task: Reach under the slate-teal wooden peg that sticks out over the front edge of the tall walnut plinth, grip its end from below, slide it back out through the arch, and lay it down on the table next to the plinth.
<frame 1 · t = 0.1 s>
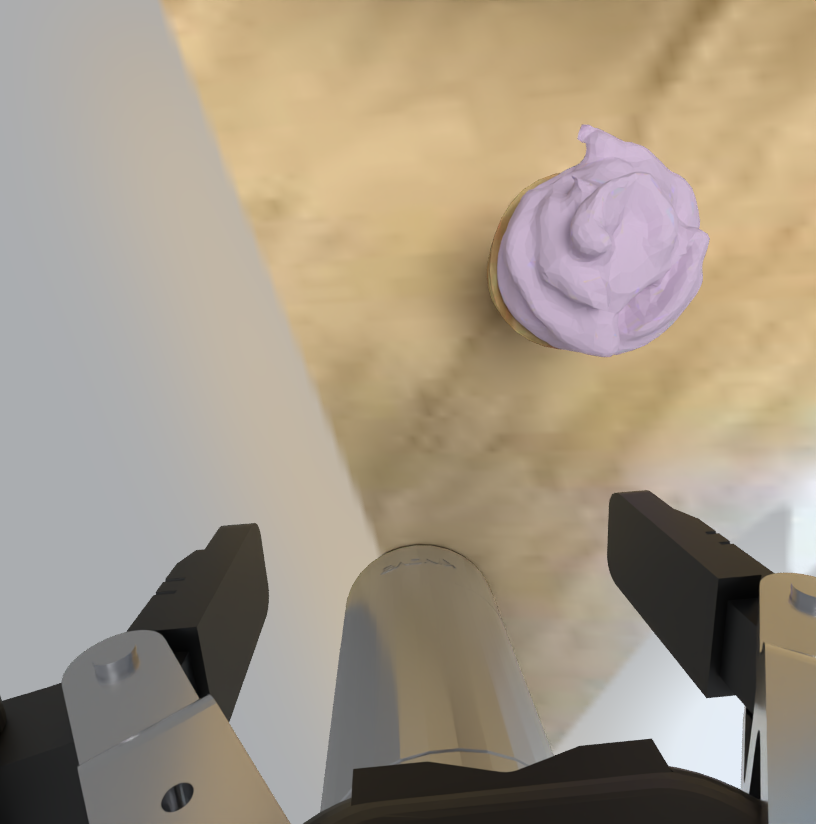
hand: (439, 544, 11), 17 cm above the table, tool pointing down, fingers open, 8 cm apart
ice cream cone: (507, 273, 27), on the table
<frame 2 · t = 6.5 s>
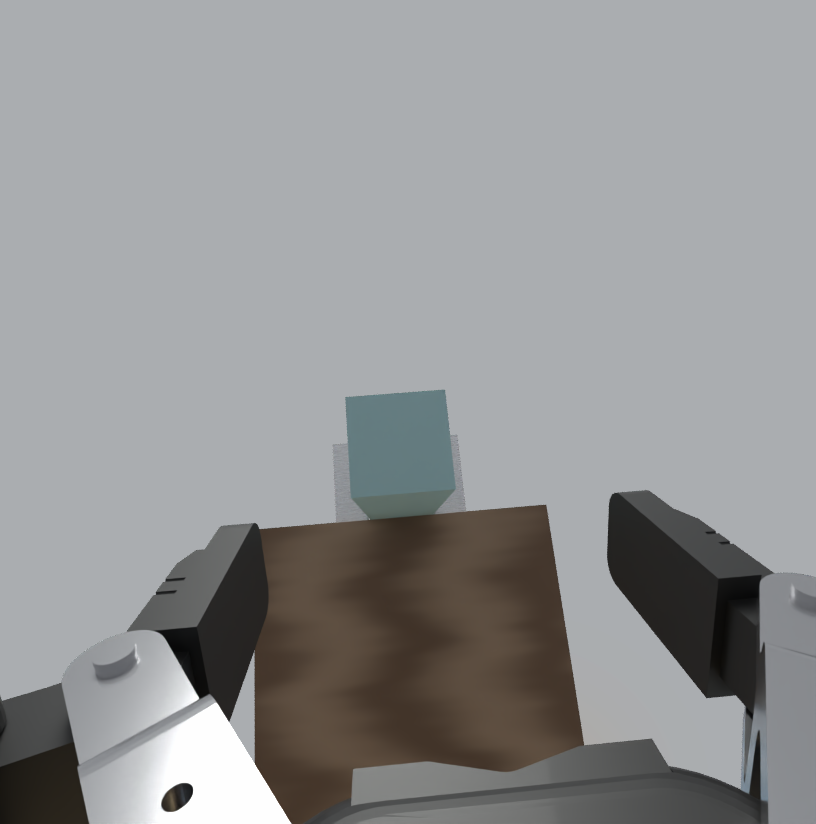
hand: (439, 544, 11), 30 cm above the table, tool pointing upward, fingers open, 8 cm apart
arch: (398, 480, 27), on the plinth, point 34 cm above the table
peg: (401, 519, 26), point 32 cm above the table, touching plinth
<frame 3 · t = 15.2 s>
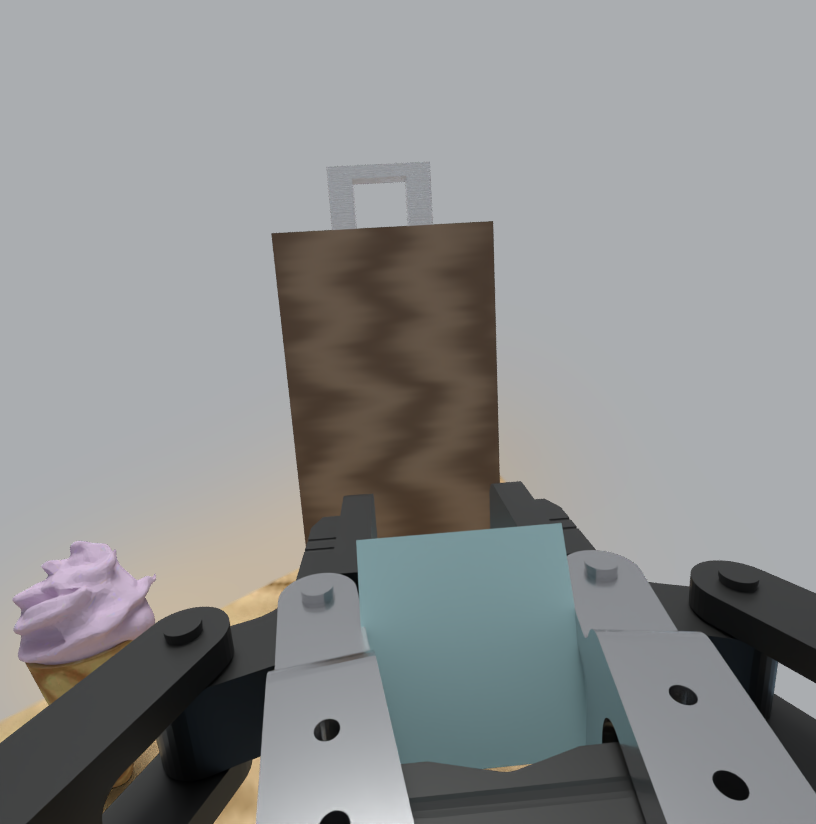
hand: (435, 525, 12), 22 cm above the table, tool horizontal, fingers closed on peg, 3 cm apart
plinth: (408, 622, 44), on the table
arch: (380, 201, 34), on the plinth, point 34 cm above the table
ice cream cone: (126, 779, 30), on the table
peg: (429, 623, 18), point 16 cm above the table, tilted 26°, touching gripper
when the fingers open (14 cm above the table, at t = 16.9 s): peg drops 9 cm, on the table.
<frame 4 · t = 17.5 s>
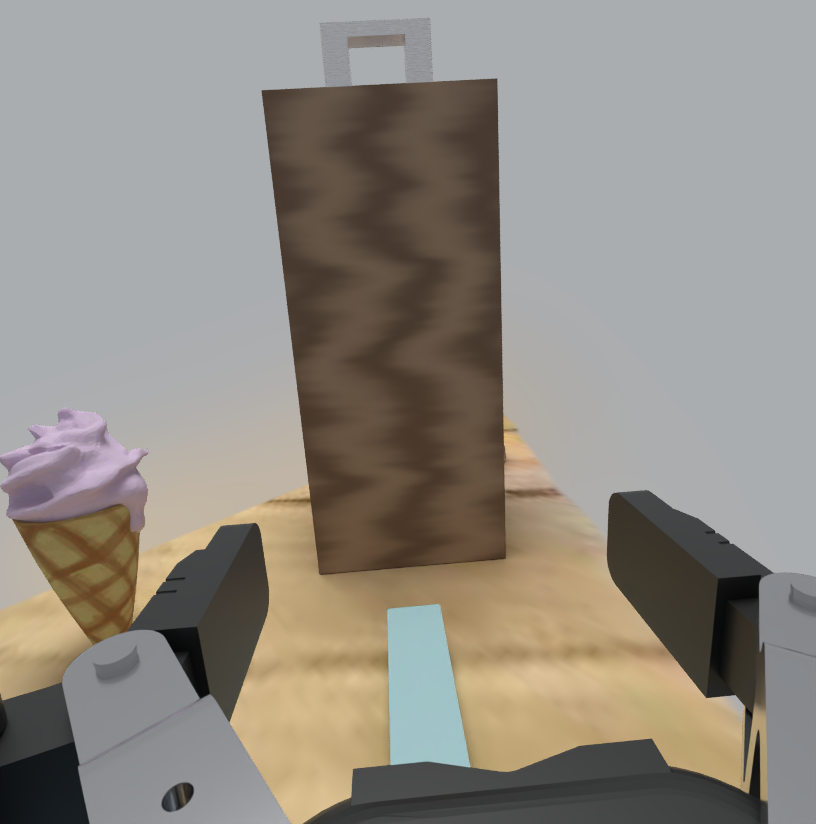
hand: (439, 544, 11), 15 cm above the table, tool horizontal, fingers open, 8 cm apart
plinth: (408, 528, 43), on the table
arch: (377, 65, 32), on the plinth, point 34 cm above the table
ice cream cone: (123, 654, 30), on the table
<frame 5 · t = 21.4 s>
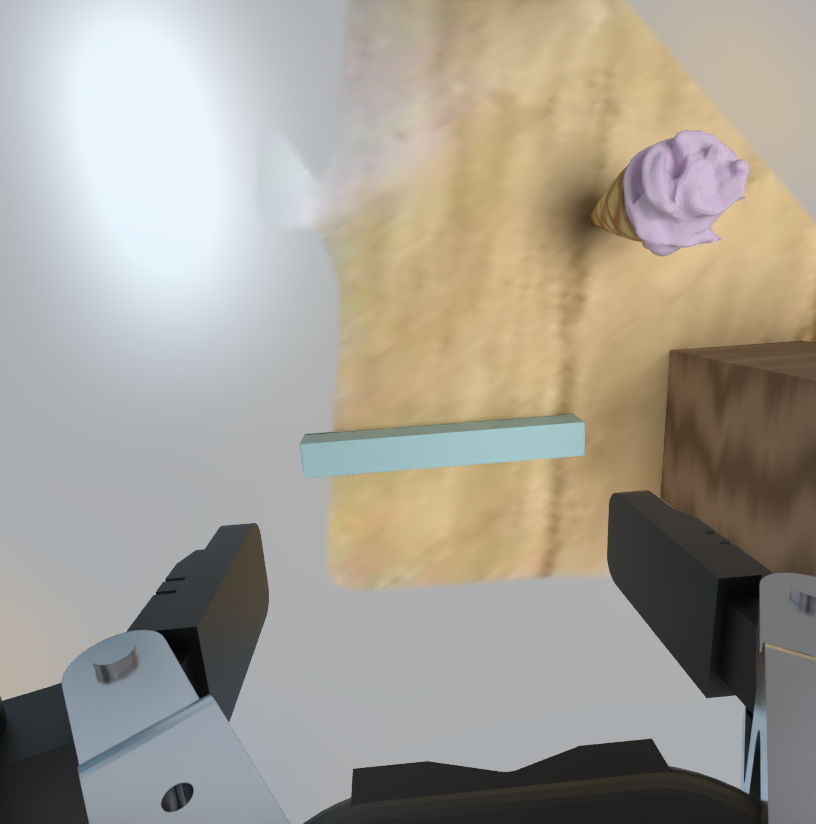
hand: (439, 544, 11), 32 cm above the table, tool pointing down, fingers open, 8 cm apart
plinth: (729, 422, 45), on the table
ice cream cone: (597, 221, 41), on the table
peg: (440, 439, 45), on the table
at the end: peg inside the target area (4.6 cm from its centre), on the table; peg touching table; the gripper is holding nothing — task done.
